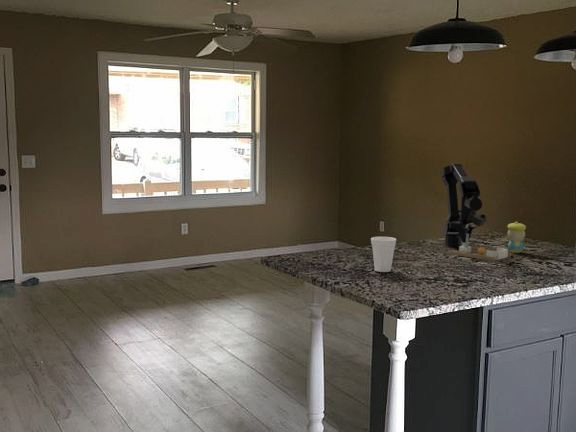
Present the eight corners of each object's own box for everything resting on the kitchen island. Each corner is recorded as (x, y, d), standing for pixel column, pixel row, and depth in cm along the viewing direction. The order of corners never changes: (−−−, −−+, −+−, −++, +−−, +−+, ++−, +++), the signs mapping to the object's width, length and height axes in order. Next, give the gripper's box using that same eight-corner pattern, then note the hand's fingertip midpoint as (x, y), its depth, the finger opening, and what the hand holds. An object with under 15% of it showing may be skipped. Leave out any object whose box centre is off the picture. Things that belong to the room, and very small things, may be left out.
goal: (486, 258, 271) (486, 250, 271) (497, 255, 278) (497, 247, 278) (496, 260, 268) (497, 252, 267) (507, 257, 275) (508, 249, 274)
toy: (521, 252, 290) (523, 220, 288) (526, 256, 281) (528, 223, 279) (503, 252, 291) (505, 219, 289) (508, 255, 282) (510, 222, 280)
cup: (365, 269, 251) (366, 237, 249) (386, 267, 255) (387, 235, 253) (378, 274, 242) (379, 241, 240) (400, 272, 245) (401, 239, 244)
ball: (475, 255, 278) (476, 247, 278) (479, 254, 281) (480, 246, 280) (483, 256, 276) (483, 248, 275) (486, 255, 278) (487, 247, 278)
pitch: (447, 255, 281) (447, 250, 281) (466, 250, 293) (466, 246, 292) (493, 262, 266) (493, 257, 266) (511, 257, 277) (511, 252, 277)
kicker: (459, 251, 284) (459, 233, 283) (463, 250, 287) (464, 232, 286) (466, 253, 281) (467, 234, 280) (471, 252, 284) (471, 233, 283)
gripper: (472, 211, 269) (470, 247, 271) (494, 208, 282) (492, 242, 284) (449, 209, 277) (448, 243, 279) (471, 205, 290) (470, 239, 292)
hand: (465, 242), depth 283 cm, fingers closed on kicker, 2 cm apart
